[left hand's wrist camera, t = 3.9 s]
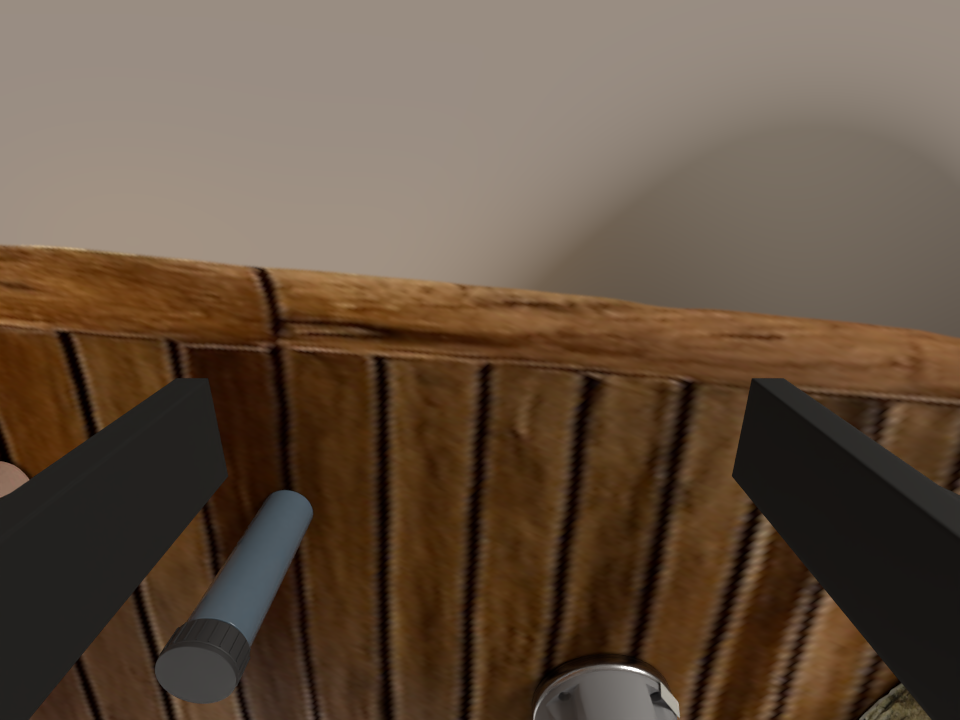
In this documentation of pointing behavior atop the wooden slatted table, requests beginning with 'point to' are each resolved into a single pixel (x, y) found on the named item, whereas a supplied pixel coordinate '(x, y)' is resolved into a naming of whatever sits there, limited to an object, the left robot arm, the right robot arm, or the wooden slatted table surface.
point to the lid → (203, 661)
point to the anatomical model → (10, 478)
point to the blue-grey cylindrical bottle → (257, 564)
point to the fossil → (896, 707)
